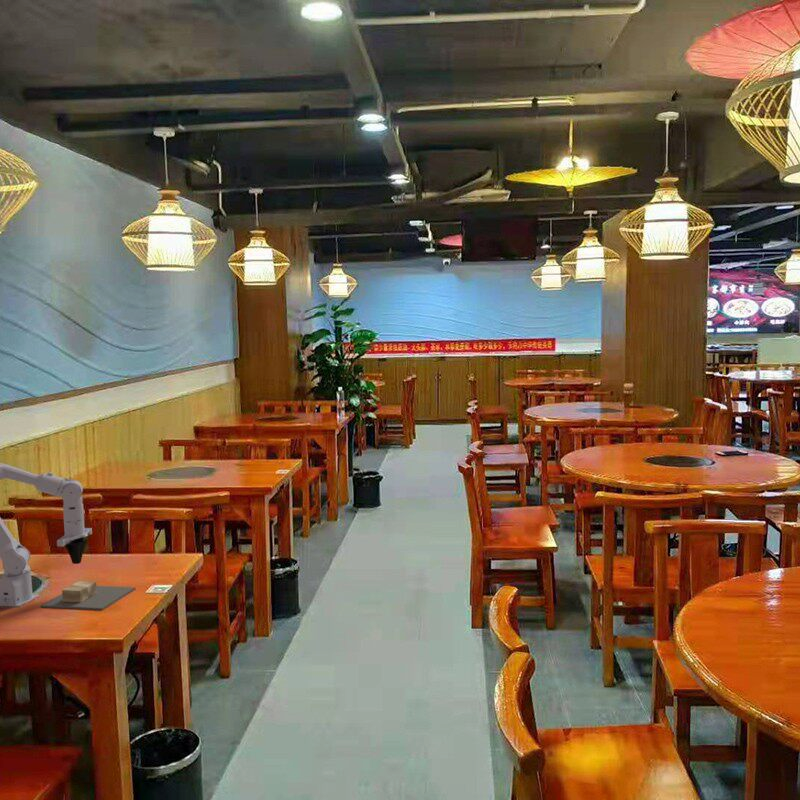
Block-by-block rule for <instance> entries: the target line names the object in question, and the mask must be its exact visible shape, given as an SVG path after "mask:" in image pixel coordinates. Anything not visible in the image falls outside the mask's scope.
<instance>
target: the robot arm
mask: <svg viewBox="0 0 800 800" xmlns="http://www.w3.org/2000/svg"><path fill="white" fill-rule="evenodd" d="M4 479H7V480H8V479H9V480H11V481H16V482H20V483H24V484H28V485H31V486H34V488H35V489H36V491H37V492H41V493H43V494H44V493H45V494H48V495H51V496H55V497H57V498H58V497H61V499H62V500H63V501H62V503H63V506H62V511H63V513H62V514H63V527H64V535H62V536H61V537H60V538H59V539H57V540H56V547H64V548H65V549H66V551H67V553H68V554H69V557H70V560H71V563H72V564H75V565H78V564H79V565H80V564H81V563H82V558H83V554H84V550H85V547H86V544H87V543H88V538H87V537H88V536H90V535H93V530H92V529H93V528H92V527H85V514H84V503H83V502H84V501H83V500H84V499H83V491H84V488H83V485H82V483H81V482H80V481H78V480H76V479H74V478H73V479H70V478H68V477H60V476H57V475H54V473H53V472H51V471H48V472H47V473H46V472H43V473H40V474H36V473H33V472H30V471H27V470H24V469H21V468H19V467H15V466H12V465H10V464H7V463H3V462H0V480H4ZM0 559H1V562H2V569H3V576H2V578H0V607H11V608H12V607H13V608H15V607H18V608H19V607H21V606H23V605H25V604H27V603H28V602H30V601H33V600H35V599H36V598H38V597H40V595H39V594H37V593H35V594H34V593H33V584H32V582H33V581H32V571H31V570H32V569H31V567H30V565H28V563H29V561H30V559H31V552H30V550H28V549H27V548H26V547H25V546H23V545H22V544H21V543H20V541H19V540H17V539H15V538H14V536H13V535H12V533H11V531H10V529H8V526H7V525H6V524H5V523H4V521H3V519H2V518H1V517H0Z"/></svg>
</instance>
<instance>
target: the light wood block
mask: <svg viewBox="0 0 800 800" xmlns="http://www.w3.org/2000/svg"><path fill="white" fill-rule="evenodd" d="M96 586H97V581H85V580H84V581H83V580H82V581H81V580H80V581H79V580H78V581H77V582H75V583H73V584H71V585H69V586H67V587H65V588H63V589H62V590H61V594H62V597H63V601H64V602H82V601H84V600H86V599H88V598H89V597H91V596H93V595H95V594H96V593H97V587H96Z"/></svg>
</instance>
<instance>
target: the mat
mask: <svg viewBox="0 0 800 800" xmlns="http://www.w3.org/2000/svg"><path fill="white" fill-rule="evenodd" d="M96 587H97V593H96V594H95V595H93V596H91V597H89V598H88V599H86V600H84V601H82V602H64V601H63V597H62V593H61V594H59V595H57V596H55V597H53V598H51V599H50V600H48V601H45V603H43V604H40V607H41V608H49V609H67V610H68V609H69V610H71V609H74V610H89V611H90V610H91V611H94V610H95V611H104V610H105V609H106V608H108V607H110V606H112V605H113V604H114V603H116V602H118V601H119V600H121V599H122V598H124V597H126V596H127V595H129V594H130V593H133V591H135V590H136V587H135V586H132V587H131V586H115V585H114V586H113V585H111V586H110V585H108V586H107V585H96Z"/></svg>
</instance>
